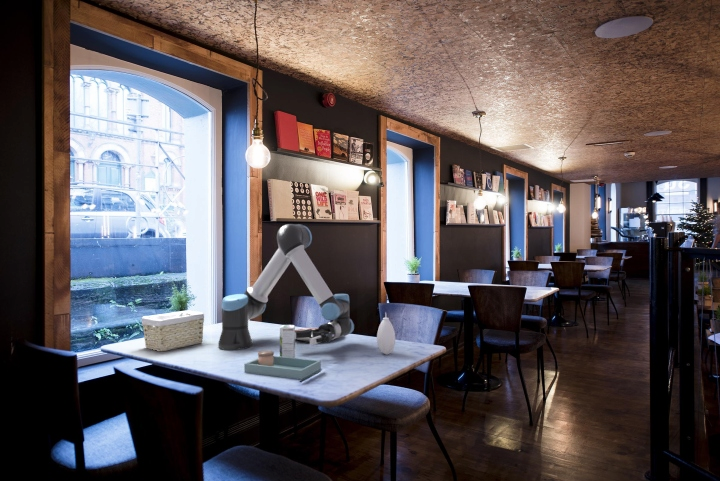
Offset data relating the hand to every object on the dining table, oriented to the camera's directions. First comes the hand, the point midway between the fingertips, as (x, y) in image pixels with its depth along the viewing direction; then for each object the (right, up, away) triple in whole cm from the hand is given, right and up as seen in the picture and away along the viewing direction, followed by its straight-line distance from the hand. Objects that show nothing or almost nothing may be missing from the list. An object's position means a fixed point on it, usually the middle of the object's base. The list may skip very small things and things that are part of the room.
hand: (297, 340), depth 193 cm
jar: (-10, -7, -16) cm, 20 cm away
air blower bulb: (+37, -8, +8) cm, 38 cm away
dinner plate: (+3, -8, +42) cm, 43 cm away
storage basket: (-62, -9, +28) cm, 68 cm away
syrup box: (-3, -8, -4) cm, 10 cm away
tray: (-3, -8, -20) cm, 21 cm away
